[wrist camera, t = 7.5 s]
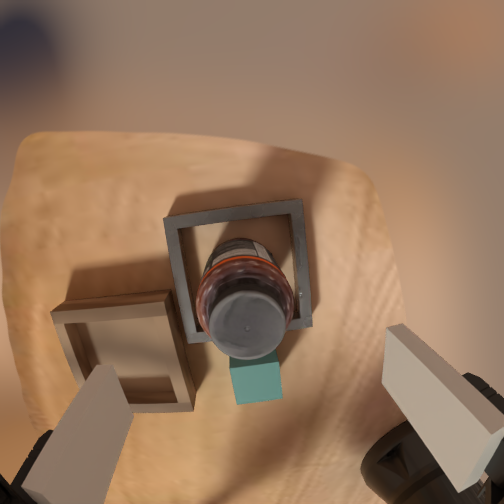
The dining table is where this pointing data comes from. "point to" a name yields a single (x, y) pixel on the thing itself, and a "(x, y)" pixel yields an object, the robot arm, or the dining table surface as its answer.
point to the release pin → (256, 379)
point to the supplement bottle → (244, 300)
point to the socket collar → (230, 214)
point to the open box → (130, 347)
